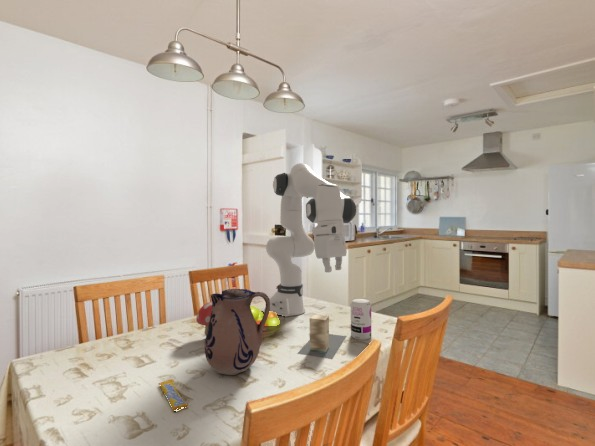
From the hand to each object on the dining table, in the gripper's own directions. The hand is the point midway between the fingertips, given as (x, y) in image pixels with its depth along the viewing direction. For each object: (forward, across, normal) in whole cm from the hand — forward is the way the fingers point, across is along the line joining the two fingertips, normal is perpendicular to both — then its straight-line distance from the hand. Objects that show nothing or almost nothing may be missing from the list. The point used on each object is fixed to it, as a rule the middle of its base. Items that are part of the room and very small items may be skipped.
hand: (333, 271), depth 108 cm
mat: (+29, -14, -12) cm, 34 cm away
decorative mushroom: (+26, -1, -55) cm, 61 cm away
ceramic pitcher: (+30, +14, -30) cm, 45 cm away
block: (+29, -9, -11) cm, 33 cm away
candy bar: (+32, +36, -36) cm, 60 cm away
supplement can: (+29, -28, -1) cm, 41 cm away
